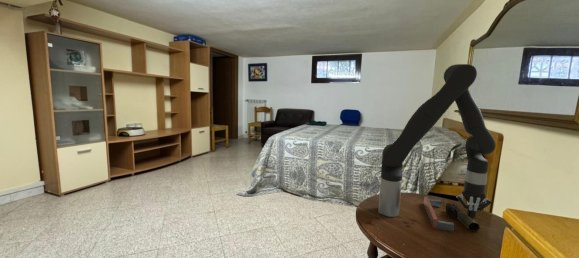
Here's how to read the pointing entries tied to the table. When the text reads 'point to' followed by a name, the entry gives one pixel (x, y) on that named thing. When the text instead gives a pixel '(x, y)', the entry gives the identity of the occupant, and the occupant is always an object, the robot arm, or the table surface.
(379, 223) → the table surface
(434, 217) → the brown pull handle
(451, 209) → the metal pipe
